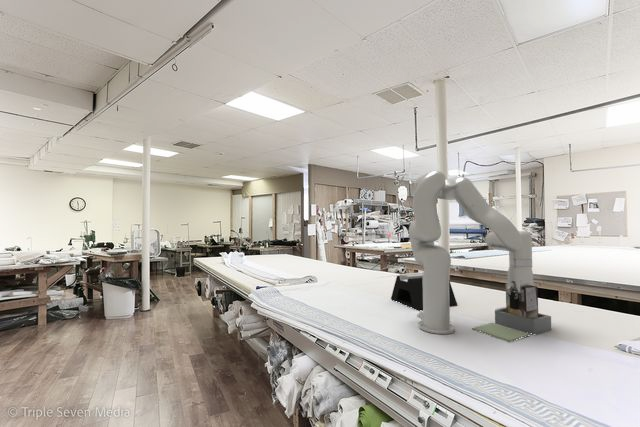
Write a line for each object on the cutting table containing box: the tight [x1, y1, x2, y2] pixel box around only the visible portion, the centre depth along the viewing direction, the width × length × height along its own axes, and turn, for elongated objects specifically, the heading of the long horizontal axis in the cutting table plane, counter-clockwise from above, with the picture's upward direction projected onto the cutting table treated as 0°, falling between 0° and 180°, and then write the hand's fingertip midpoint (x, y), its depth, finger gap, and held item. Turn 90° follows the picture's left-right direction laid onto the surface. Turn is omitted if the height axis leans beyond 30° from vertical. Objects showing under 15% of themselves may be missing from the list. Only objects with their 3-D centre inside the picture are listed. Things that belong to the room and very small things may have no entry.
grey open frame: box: [494, 306, 552, 335], centre depth 118 cm, size 14×11×6 cm
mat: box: [471, 322, 531, 343], centre depth 111 cm, size 14×12×1 cm
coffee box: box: [504, 282, 539, 319], centre depth 118 cm, size 9×6×16 cm
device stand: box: [390, 271, 458, 312], centre depth 154 cm, size 22×22×15 cm
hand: (521, 307), depth 118 cm, fingers open, 9 cm apart
